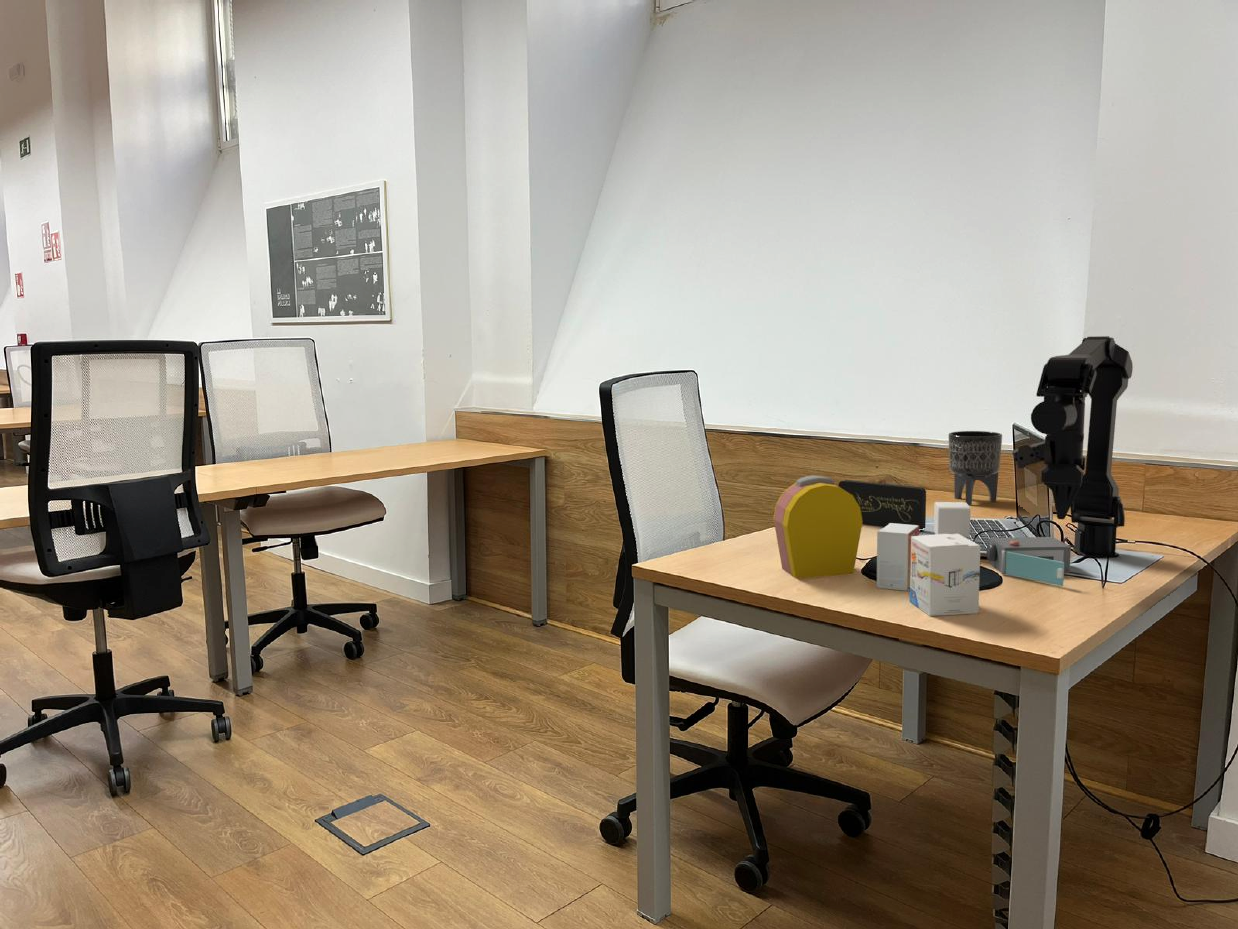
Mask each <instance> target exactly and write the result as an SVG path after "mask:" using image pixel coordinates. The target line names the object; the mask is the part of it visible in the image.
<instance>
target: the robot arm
mask: <svg viewBox="0 0 1238 929" xmlns="http://www.w3.org/2000/svg"><path fill="white" fill-rule="evenodd" d="M1133 368H1134V367H1133V360H1132V358H1131V355H1130V352H1129V351H1128V350H1127V349H1125V348H1123V347H1122V346H1120V345H1119V344H1117V343H1116V341H1115V339H1114V337H1110V336H1108V335H1105V336H1104V335H1103V336H1102V335H1101V336H1087V337H1083V338H1082V340H1081V343H1080V344H1079V345H1078V346H1077V347H1076V348H1075V349H1073V350H1072V351H1071V352H1070V353H1068V354H1063V355H1054V356H1051V357H1050V358H1048V360H1047V363H1045V364H1044V365H1043V368H1042V372H1041V374H1040V375H1041V376H1040V380H1039V383H1038V387H1037V390H1036V397H1037V398H1039V397H1040V398H1042V397H1043V401H1041V402H1039V403H1038V404H1037V405H1035V406H1034V408H1033V409H1032V412H1031V413H1030V422H1031V424H1032V426H1033V427H1034V429H1035V430H1036V431H1038V432H1039V433H1041V434H1043V435H1046V436H1045V437H1044V440H1043V441H1040V442H1036V443H1032V444H1029V443H1028V442H1027V443H1025V444H1021V445H1018V447H1017V448H1015V449H1013V450H1012V452H1011V454H1012V456H1013V461H1014V462H1015V464H1016V465H1015V466H1016V468H1017V469H1018V470H1019V469H1024V468H1026V467H1028V466H1031V465H1033V464H1038V463H1041V462H1043V465H1045V466H1043V468H1042V470H1041V478H1040V480H1041V482H1042V483H1043V485H1044V486H1046V487H1047V488H1048V489H1049V490H1051V492H1052V497H1053V502H1054V508H1055V513H1056V518H1057V519H1058V520H1065V519H1066V517H1067V515H1068V512H1069V511H1070V516H1071V517H1070V520H1071V523H1072V524H1075V523H1076V524H1077V529H1074V545H1073V546H1072V550H1073V551H1074V552H1077V553H1078V554H1080V555H1081V556H1084V557H1087V558H1102V557H1103V558H1104V557H1108V556H1110V557H1112V558H1113V557H1120V553H1119V552H1116V549H1117V548H1116V546H1117V530H1118V529H1117V528H1120V527H1121V528H1122V527H1125V526H1126V525H1125V522H1126V518H1125V517H1126V515H1125V510H1124V504H1123V502H1122V498H1121V497H1120V496H1119V491H1120V489H1119V486H1118V484H1117V482H1116V481H1115V479H1114V478H1113V475H1112V465H1113V455H1114V454H1113V452H1114V441H1115V432H1116V431H1115V429H1116V420H1117V419H1116V418H1117V417H1116V416H1117V407H1118V400H1119V399H1120V398H1121V396H1122V395H1123V394H1124V392H1126V390H1127V388H1128V385H1129V380H1130V379H1131V378H1132V376H1133ZM1087 396H1089V397H1090V399H1091V400H1090V411H1089V421H1088V422H1089V424H1088V432H1087V433H1088V434H1087V446H1086V457H1085V456H1084V455H1083V454H1084V439H1085V413H1086V412H1085V411H1086V402H1085V401H1086V398H1087Z"/></svg>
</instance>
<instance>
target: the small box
mask: <svg viewBox="0 0 1238 929" xmlns="http://www.w3.org/2000/svg"><path fill="white" fill-rule="evenodd" d="M912 536H920V532H919V526H918V525H907V524H896V523H889V524H888V525H887V526H886V527H882V528H881V529H880V530H877V532H876V537H877V539H876V544H877V545H876V588H877V589H888V590H894V591H902V592H903V591H904V592H908V591H910V575H911V537H912Z"/></svg>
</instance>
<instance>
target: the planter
mask: <svg viewBox="0 0 1238 929" xmlns="http://www.w3.org/2000/svg"><path fill="white" fill-rule="evenodd" d="M1002 443H1003V434H1002V433H1000V432H995V431H984V430H962V431H951V432H948V461H949V462H948V463H949V464H948V468H949V470H950V471H949V472H951V473H954V475H953V476H954V482H953V484H954V499H955V500H956V499H957V500H959V499H961V500H962V497H963V496H962V495H963V490H964V487H965V502H966V503H967V504H968V505H969V506H973V505H972V504H973V503H972V502H973V495H974V494H973V493H974V486H975V483H976V481H979V482H981V483H983V484H984V485H985V487H986V488H987V490H988V494H989V501H990V502H997V494H998V484H999V483H998V482H999V471H1000V465H1001V454H1002Z"/></svg>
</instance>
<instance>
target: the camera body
mask: <svg viewBox="0 0 1238 929" xmlns="http://www.w3.org/2000/svg"><path fill="white" fill-rule="evenodd" d="M1003 550H1005V551H1007V552H1012V553H1017V554H1023V555H1028V556H1033V557H1039V558H1044V559H1049V560H1055V561H1060V562H1064V574H1070V572H1071V554H1072V552H1071V551H1072V546H1070V545H1068V544H1067V543H1065V542H1063V541H1061V540H1060V539H1057V538H1056V537H1054V536H1036V537H1035V536H1032V537H1031V536H1029V537H1024V536H1022V537H989V544H987V546H986V551H985V554H986V559H987V561H988V563H989V565H991V566H992V567H993V568H995V569H997V570H998V571H999V572H1002V551H1003Z"/></svg>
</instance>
